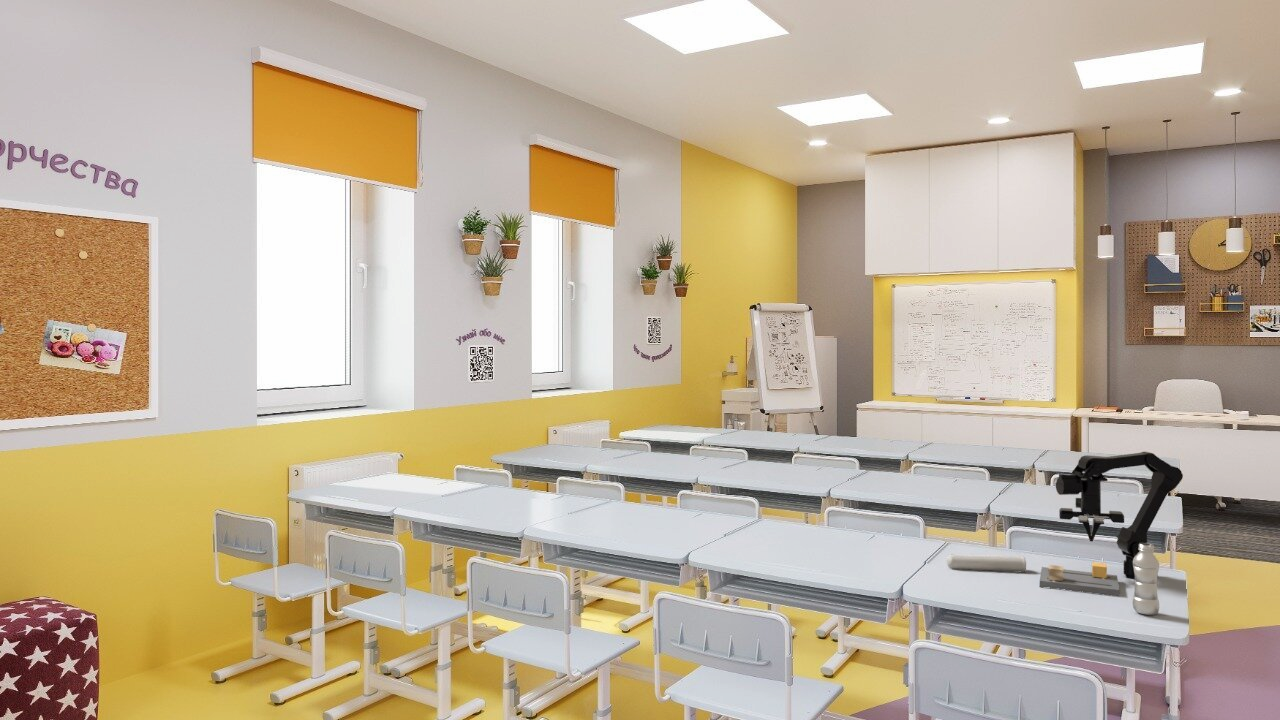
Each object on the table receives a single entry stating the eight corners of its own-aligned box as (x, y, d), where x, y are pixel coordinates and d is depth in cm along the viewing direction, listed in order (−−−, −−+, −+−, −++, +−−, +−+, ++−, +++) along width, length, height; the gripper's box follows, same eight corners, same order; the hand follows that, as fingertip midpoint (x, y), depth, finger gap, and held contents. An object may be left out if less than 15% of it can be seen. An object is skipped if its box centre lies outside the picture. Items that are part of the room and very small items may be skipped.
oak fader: (1063, 577, 268) (1063, 566, 268) (1062, 581, 263) (1062, 570, 263) (1049, 575, 270) (1049, 564, 270) (1048, 579, 265) (1048, 568, 265)
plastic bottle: (1150, 619, 234) (1151, 548, 234) (1127, 612, 240) (1127, 543, 240) (1164, 615, 237) (1165, 545, 237) (1140, 608, 243) (1141, 540, 243)
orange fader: (1106, 574, 271) (1106, 563, 271) (1106, 578, 267) (1106, 567, 267) (1092, 572, 273) (1092, 562, 273) (1092, 576, 268) (1092, 565, 268)
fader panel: (1116, 581, 271) (1116, 574, 271) (1119, 596, 255) (1119, 589, 255) (1041, 572, 281) (1041, 566, 281) (1039, 586, 265) (1039, 580, 265)
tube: (948, 559, 285) (1026, 562, 280) (945, 550, 290) (1022, 553, 285) (947, 572, 287) (1025, 575, 282) (945, 563, 292) (1021, 566, 287)
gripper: (1121, 491, 279) (1121, 538, 280) (1058, 488, 287) (1059, 533, 288) (1124, 497, 269) (1124, 545, 270) (1059, 494, 277) (1060, 540, 278)
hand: (1091, 541), depth 276 cm, fingers closed
